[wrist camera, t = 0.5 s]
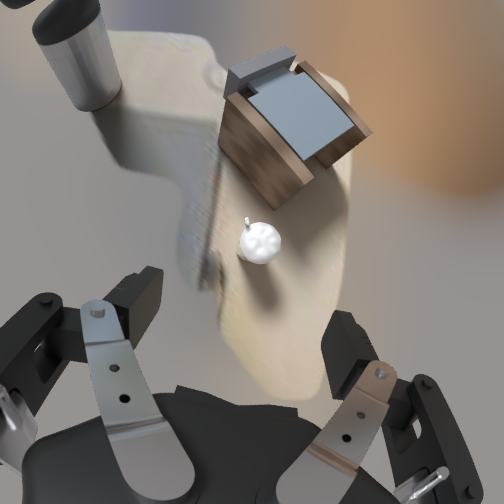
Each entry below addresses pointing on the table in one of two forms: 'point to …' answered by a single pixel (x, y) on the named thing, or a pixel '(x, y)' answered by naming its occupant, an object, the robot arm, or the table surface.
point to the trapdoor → (288, 101)
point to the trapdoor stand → (279, 144)
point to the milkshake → (258, 243)
